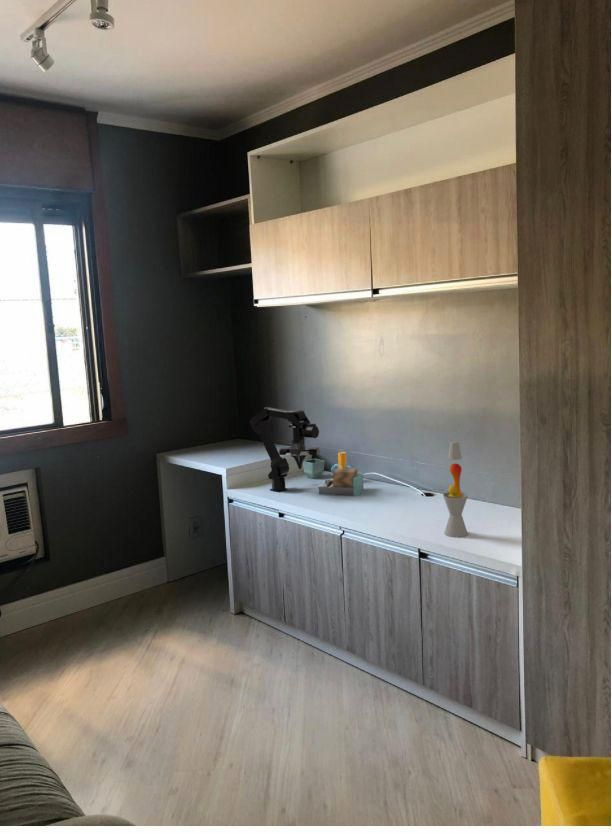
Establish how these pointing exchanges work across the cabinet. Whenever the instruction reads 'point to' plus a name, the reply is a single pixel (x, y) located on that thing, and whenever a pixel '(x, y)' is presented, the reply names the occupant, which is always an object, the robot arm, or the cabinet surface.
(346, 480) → the brown wooden block
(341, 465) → the orange post with rings
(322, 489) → the roller bed
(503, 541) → the cabinet surface
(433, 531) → the cabinet surface
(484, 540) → the cabinet surface
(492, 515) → the cabinet surface
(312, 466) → the flower pot
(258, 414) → the robot arm
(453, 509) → the lava lamp
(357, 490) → the stop bar
